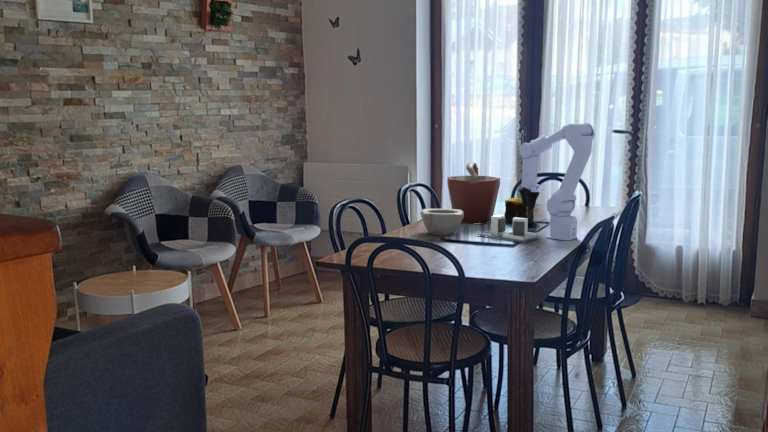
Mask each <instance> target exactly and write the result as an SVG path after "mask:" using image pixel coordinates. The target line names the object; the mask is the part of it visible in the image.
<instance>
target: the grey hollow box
mask: <svg viewBox="0 0 768 432" xmlns="http://www.w3.org/2000/svg"><path fill="white" fill-rule="evenodd" d="M506 230H507V229H506V218H505V214H495V215H494V214H493V216H491V221H490V230H487V231H484V232H481V233H478V234H477V236H478V235H480V236H487V237H494V238H500V239H499V240H501V239H507V240H506V241H509V240H513V241H512V242H516V241H518V243H528V242H530V241H534V240H537V239H539V235H538V232H532V231H527V236H524V237H523V236H515V235H512V230H511V231H506ZM480 236H479V237H480ZM487 237H486V238H487ZM494 238H493V239H494Z"/></svg>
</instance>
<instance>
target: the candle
mask: <svg viewBox="0 0 768 432" xmlns="http://www.w3.org/2000/svg"><path fill="white" fill-rule="evenodd" d="M504 203H505V205H504V206H505V212H504V215H505V218H506V223H508V224H507V225H513V218H514V217H517V218H528V225H530V224H532V223H534V217H535V215H534V209H528V206H523V203H522V198H520V197H518V198H517V197H511V198H509V199H506V200H505V199H504Z"/></svg>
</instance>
